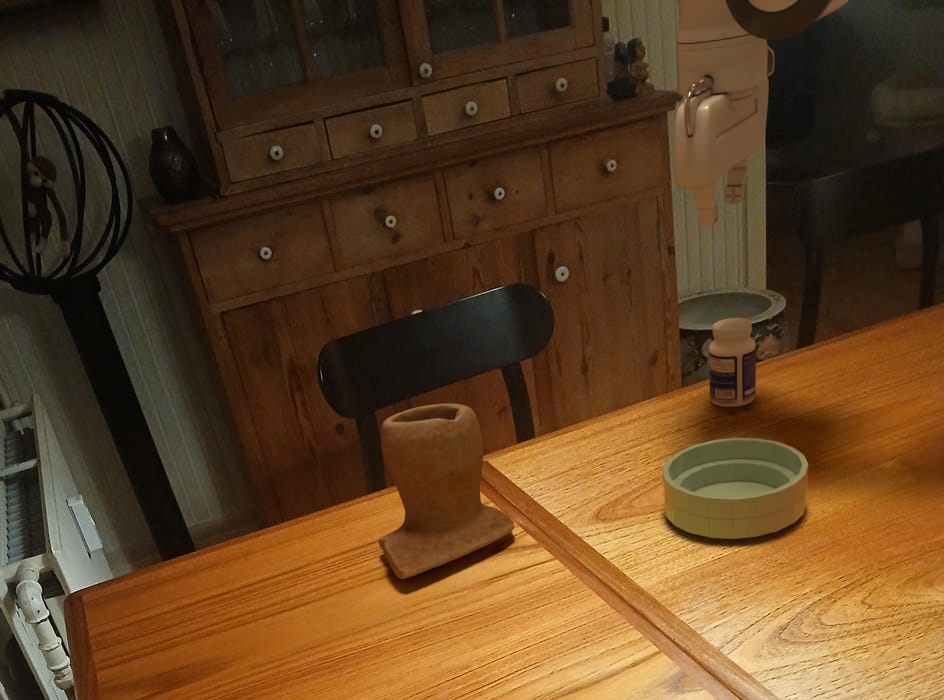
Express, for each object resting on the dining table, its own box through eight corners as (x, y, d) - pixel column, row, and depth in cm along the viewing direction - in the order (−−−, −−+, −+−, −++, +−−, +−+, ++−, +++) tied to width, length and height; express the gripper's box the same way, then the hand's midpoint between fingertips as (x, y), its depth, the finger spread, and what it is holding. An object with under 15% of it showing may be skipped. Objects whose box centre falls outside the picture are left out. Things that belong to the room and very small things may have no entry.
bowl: (791, 474, 108) (792, 431, 105) (818, 536, 96) (821, 490, 93) (659, 487, 110) (657, 445, 107) (671, 550, 98) (669, 505, 95)
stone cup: (472, 505, 113) (451, 379, 105) (530, 540, 104) (513, 406, 96) (355, 553, 108) (324, 425, 99) (407, 594, 99) (377, 457, 91)
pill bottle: (744, 388, 129) (745, 312, 124) (763, 402, 125) (764, 324, 119) (703, 397, 129) (701, 322, 124) (719, 412, 124) (719, 334, 119)
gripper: (719, 82, 92) (720, 237, 99) (779, 51, 105) (775, 189, 113) (655, 89, 95) (660, 239, 102) (721, 58, 108) (721, 192, 116)
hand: (721, 213), depth 108 cm, fingers open, 8 cm apart
